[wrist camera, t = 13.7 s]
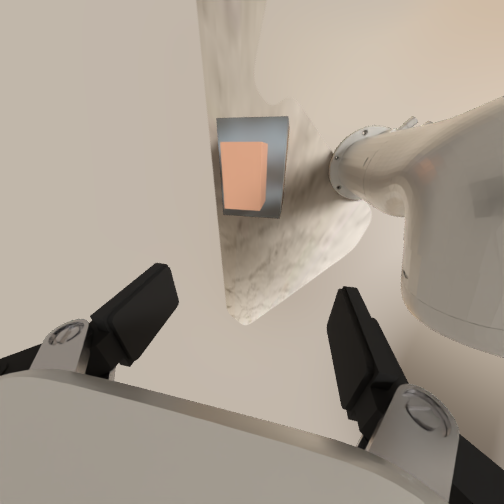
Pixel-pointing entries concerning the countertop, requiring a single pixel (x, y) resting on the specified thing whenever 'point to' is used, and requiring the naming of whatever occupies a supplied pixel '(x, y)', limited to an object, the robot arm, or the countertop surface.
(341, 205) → the countertop surface
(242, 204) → the terracotta brick
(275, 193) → the shiny metal block
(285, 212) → the countertop surface
